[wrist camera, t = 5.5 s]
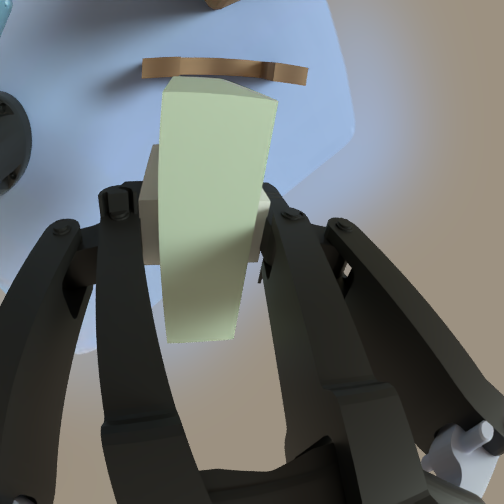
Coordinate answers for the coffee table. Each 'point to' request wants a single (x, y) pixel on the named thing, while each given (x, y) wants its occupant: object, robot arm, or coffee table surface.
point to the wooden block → (219, 3)
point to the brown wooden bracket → (223, 68)
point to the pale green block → (208, 200)
